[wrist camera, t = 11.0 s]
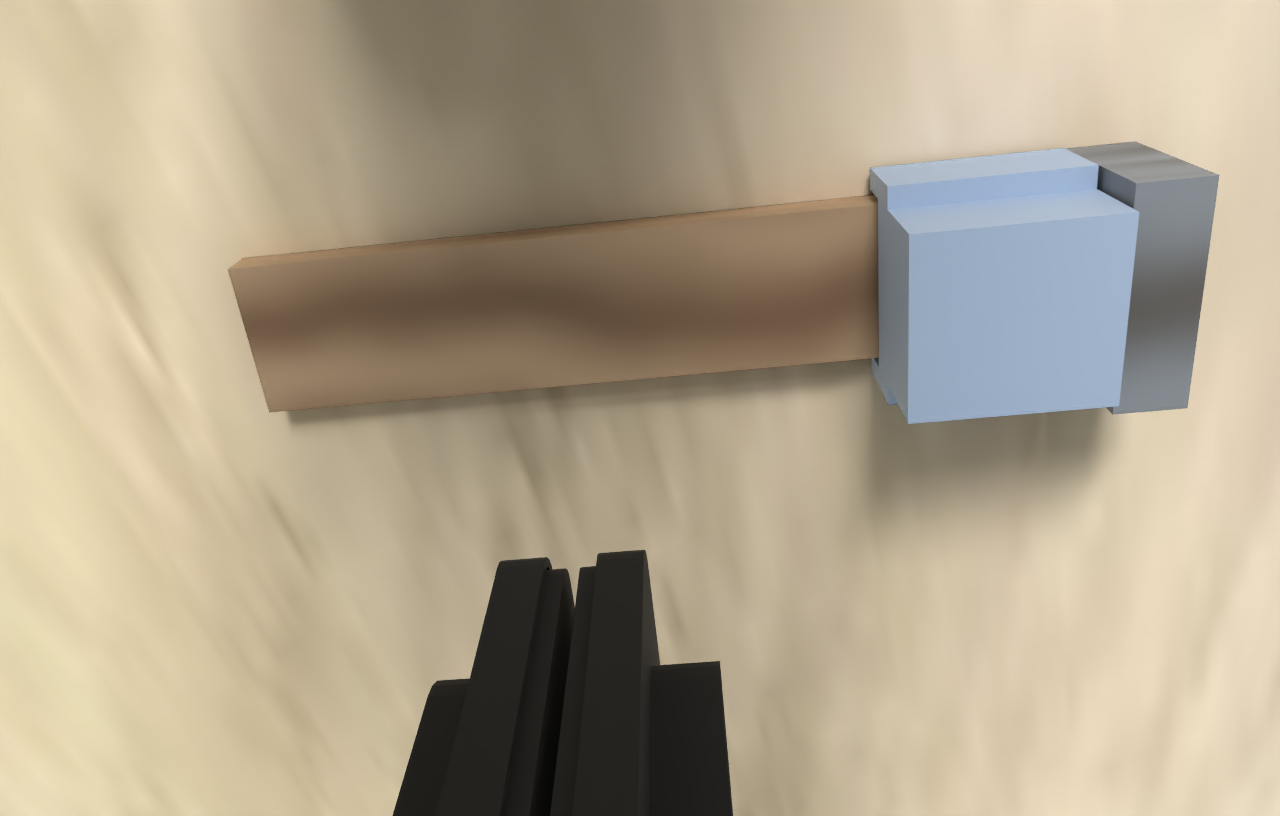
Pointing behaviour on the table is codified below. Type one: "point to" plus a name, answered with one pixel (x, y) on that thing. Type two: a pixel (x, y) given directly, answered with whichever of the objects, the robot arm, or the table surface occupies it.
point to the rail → (668, 298)
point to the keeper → (1001, 286)
